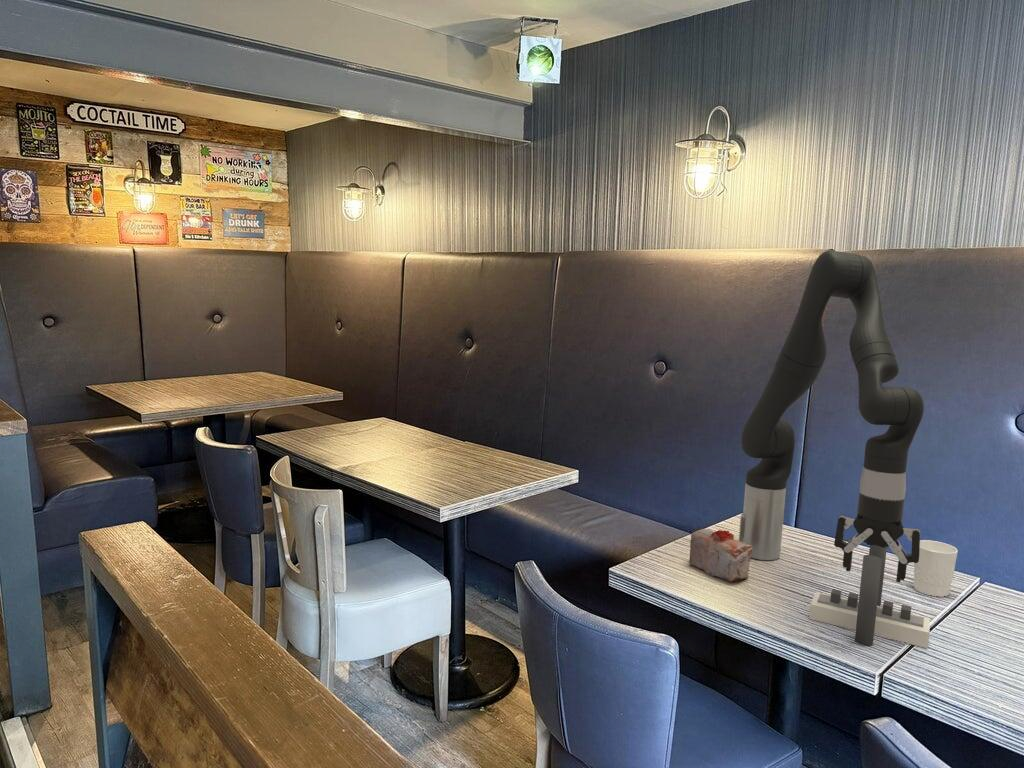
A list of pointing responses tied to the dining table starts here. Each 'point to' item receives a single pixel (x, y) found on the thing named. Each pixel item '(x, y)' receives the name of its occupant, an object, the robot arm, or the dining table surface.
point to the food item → (720, 554)
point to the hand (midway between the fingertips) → (873, 575)
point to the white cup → (935, 568)
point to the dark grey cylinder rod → (881, 553)
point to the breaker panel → (886, 623)
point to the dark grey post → (868, 600)
